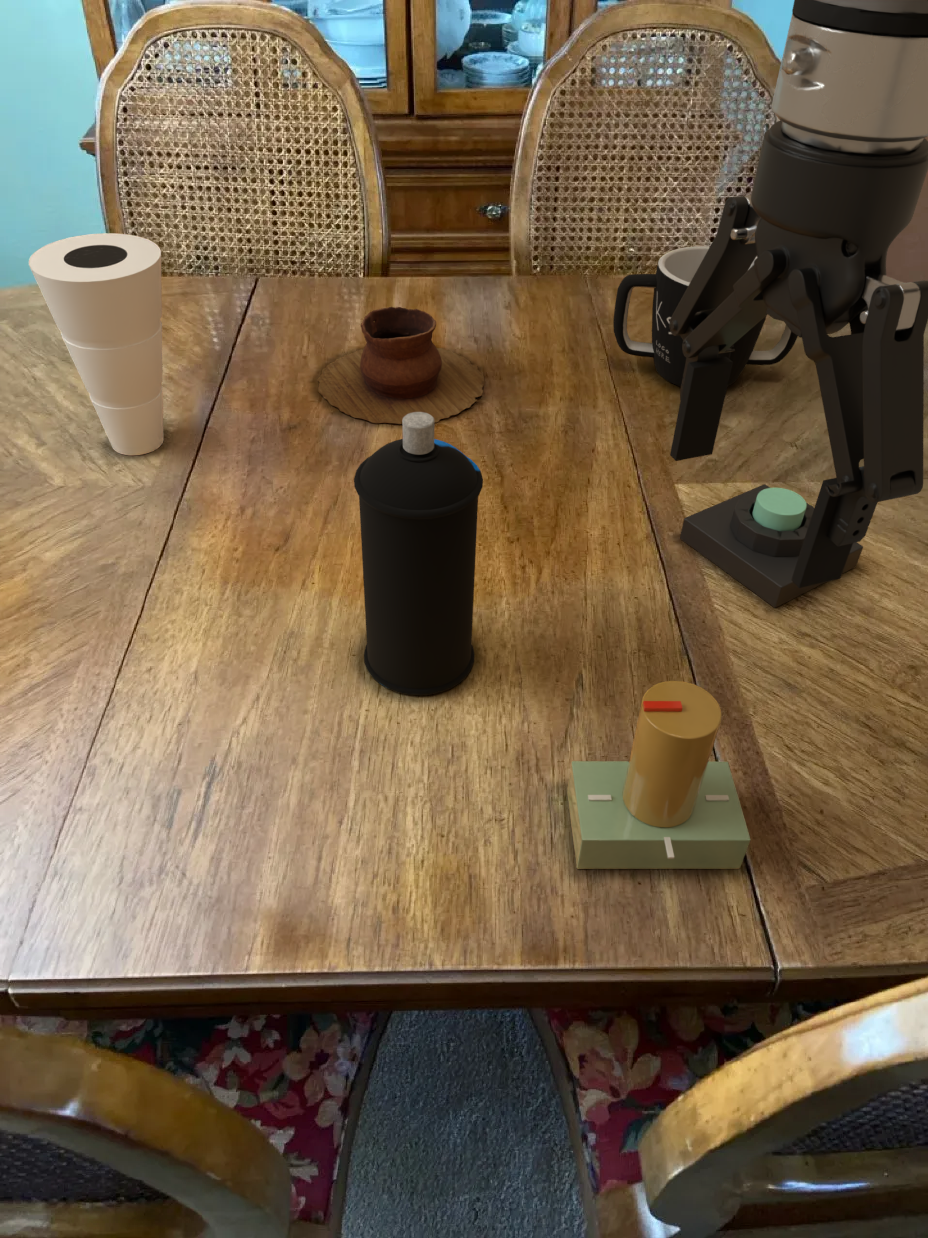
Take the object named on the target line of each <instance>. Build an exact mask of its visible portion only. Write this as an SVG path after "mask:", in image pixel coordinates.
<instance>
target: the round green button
mask: <svg viewBox="0 0 928 1238" xmlns="http://www.w3.org/2000/svg"><path fill="white" fill-rule="evenodd" d="M806 503H807V501H806V500H805V498H804V497H803V496H802V495H800V494H799V493H797V492H796V491H794V490H791V489H788V488H784V487H770V488H767V489H764V490H762V491H760V492H759V493H758V495H757V498H756V502H755V506H754V509H753V514H752V515H753V518H754V520H755V521H756V522H758V523H759V524H761V525H762V526H764V527H767V528H770V529H774V530H778V531H794V530H796V529H798V528H799V527H800V525H801V523H802V520H803V517H804V514H805V511H806V507H807V504H806Z"/></svg>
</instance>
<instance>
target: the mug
mask: <svg viewBox="0 0 928 1238" xmlns="http://www.w3.org/2000/svg"><path fill="white" fill-rule="evenodd" d="M710 246H711V245H710ZM710 246H708V245H697V246H696V245H695V246H684V247H680V248H676V249H673V250H670V251H668V252H666V253H664V254H663V255H661V256H660V258H659V259H658V261H657V265H656V271H655V273H635V274H634V273H632V274H627V275H626V276H624V278H623V279H622V280H621V281H620V283H619V285H618V287H617V290H616V297H615V301H614V309H613V319H612V321H613V323H612V324H613V325H612V327H613V333H614V337H615V341H616V343H617V345H618V347H619V348H620V350H621V351H623V352H624V353H625V354H628V355H631V356H635V357H642V358H653V364H654V368H655V370H656V373H657V374H658V375H659V376H660V377H661V378H663V379H664V380H666V381H667V382H669V383H671V384H673V385H676V386H678V387H681V384H682V379H683V373H684V368H685V363H686V357H685V356H684V354H683V350H682V344H683V339H682V338H681V336H680V335H676V336H674V335H672V333H671V331H670V328H669V323H670V319H671V317H672V315H673V313H674V311H675V309H676V308H677V306H678V304H679V302H680V300H681V298H682V297H683V295H684V293H685V291H686V289H687V288H688V286H689V284H690V282H691V280H692V278H693V277H694V275H695V273H696V271H697V269H698V267H699V266H700V264H701V262H702V260H703V258H704V256H705V255H706V253H707V251H708V249H709V247H710ZM756 258H757V256H756ZM756 258H755V259H756ZM755 259H754V261H755ZM754 261H753V263H752V264H751V266H750V267H749V269H750V268H751V267H752V266H753V265H754ZM749 269H748V270H749ZM634 288H647V289H653V296H652V307H651V308H652V309H651V310H652V312H651V342H644V341H636V340H632V339H631V338H630V336H629V333H628V314H629V308H630V302H631V297H632V293H633V290H634ZM699 312H700V311H699ZM767 316H768V315H766V316H765V317H764V318H763V319H762V320H761V321H759V322H758V323H757V324H756V325H755V326H754V327H753V328H751V329H750V330H749V331H748V332H747V333H746V334H745V335H743V336H742V337H741V338H740V339H739V340H738V341H736V342H735V343H734V344H733V347H730V349H735V351H732V352H725V353H719V354H718V358H722V357H727V358H729V359H730V360H731V361H732V362H733V364H732V369H731V373H730V377H729V382H728V386H727V387H729V386H731V385H732V384H734V383H735V382H736V381H737V380H738V379H739V378H740V375H741V374H742V373H743V371H744V370H745V368H746V366H747V365H750V366H772V365H775V364H778V363H779V362H781V361H782V360H783V359H785V358H786V357H787V355H788V354H789V353H790V352H791V350H792V349H793V348H794V345H795V344H796V342H797V339H798V338H799V337H798V336H797V335H796V334H794V333H793V332H792V331H791V330H790V329H789V328H788V326H787V325H786V324H785V327H784V330H783V332H782V335H781V337H780V338H779V341H778V342H777V343H776V345H774V346H773V348H771V349H768V350H767V349H766V350H754V349H755V346H756V344H757V342H758V339H759V337H760V334H761V332H762V330H763V327H764V324H765V322H766V319H767Z"/></svg>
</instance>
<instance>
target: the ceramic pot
mask: <svg viewBox="0 0 928 1238" xmlns="http://www.w3.org/2000/svg"><path fill="white" fill-rule="evenodd" d="M436 327H437V321H436V319H434V317H433V316H432V315H431V314H430V313H428V312H426V311H425V310H420V309H419V308H414V309H411V308H409V309H408V308H406V307H401V306H397V307H395V306H388V307H382V308H378V309H373V310H371V311H370V312H369V313H368V314H366V315H365V316H364V317H363V319H362V322H361V323H360V328H361V332H362V334H363V337H364V339H365V342H366V343H365V345H364V347H363V348H360V349H356V350H354V351H353V352H351V353H348V354H345V355H342V356H341V357H339V358H336V359H335V360H334V361H331V362H329V364H327V365H325V368H322V370H321V371H322V372H321V374H320V376H319V377H318V378H317V379H316V380H317V381H318V382H319V385H318V389H317V391H318V392H319V394H320V395H321V396H322V397H323V399H325V400H326V401H327V402H328V403H329V405H330V406H333V407H336V408H337V409H338V411H339V412H341V413H344V414H345V415H348V416H351V417H352V418H354V419H362V420H365V421H368V422H369V423H373V424H383V423H388V424H395V425H402V420H403V417H404V416H406V415H407V414H409V413H412V412H424V413H428V414H430V415H431V416H432V417H433V418H434V424H436V423H438V422H439V421H440V420H442V419H449V418H450V417H451V416H455V415H458V414H459V413H461V412H463V411H464V410H465V409H469V408H471V407H472V405H473V404H474V403H475V402H478V399H476V398H478V397H482V395H483V392H484V389H483V387H484V386H485V383H486V381H485V376H484V374H482V372H481V371H480V370H479V369H478V366H477V364H471V360H469V359H467V358H466V357H465V356H462V355H460V354H459V353H456V352H454V350H453V351H452V350H450V349H446V348H443V347H437V346H436V345H435V343H434V342H433V340H432V339H433V333H434V331H435V330H436Z"/></svg>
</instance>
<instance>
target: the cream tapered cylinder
mask: <svg viewBox="0 0 928 1238" xmlns="http://www.w3.org/2000/svg"><path fill="white" fill-rule="evenodd" d="M28 267H29V269H30V271H31V273H32V275H33V277H34V280H35V282H36V284H37V286H38V289H39V291H40V293H41V295H42V297H43V299H44V302H45V303H46V305H47V308H48V310H49V312H50V315H51V317H52V319H53V321H54V324H55V325H56V328H57V329H58V330H59V331H60V337H61V338H62V340H63V342H64V344H65V345H64V346H65V347H66V349H67V351H68V353H69V355H70V358H71V359H72V362H73V364H74V366H75V369H76V371H77V373H78V375H79V377H80V380H81V381H82V383H83V386H84V388H85V390H86V392H87V393H88V395H89V399H90V401H91V404H92V406H93V408H94V410H95V412H96V415H97V417H98V419H99V421H100V424H101V425H102V428H103V430H104V432H105V434H106V437H107V439H108V441H109V444H110V445H111V448H112V449H113V450H114V451H115V452H116V453H118V454H121V455H123V456H124V455H125V456H142V455H145V454H148V453H151V452H154V451H156V450H158V449H159V448H160V447H161V446H163V442H164V387H163V385H162V383H163V322H162V316H163V292H162V289H163V287H162V250H161V248H160V246H159V245H158V244H156V243H155V242H154V241H152V240H150V239H147V238H146V237H141V236H139V235H134V234H126V233H114V232H113V233H110V232H108V233H106V232H105V233H104V232H103V233H88V234H83V235H82V234H81V235H75V236H69V237H66V238H62V239H59V240H55V241H52V242H50V243H47V244H45V245H44V246H42V247H40V248H38V249H37V250H35V251H34V252H33V253H32V254H31V255H30V257H29V259H28Z"/></svg>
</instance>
